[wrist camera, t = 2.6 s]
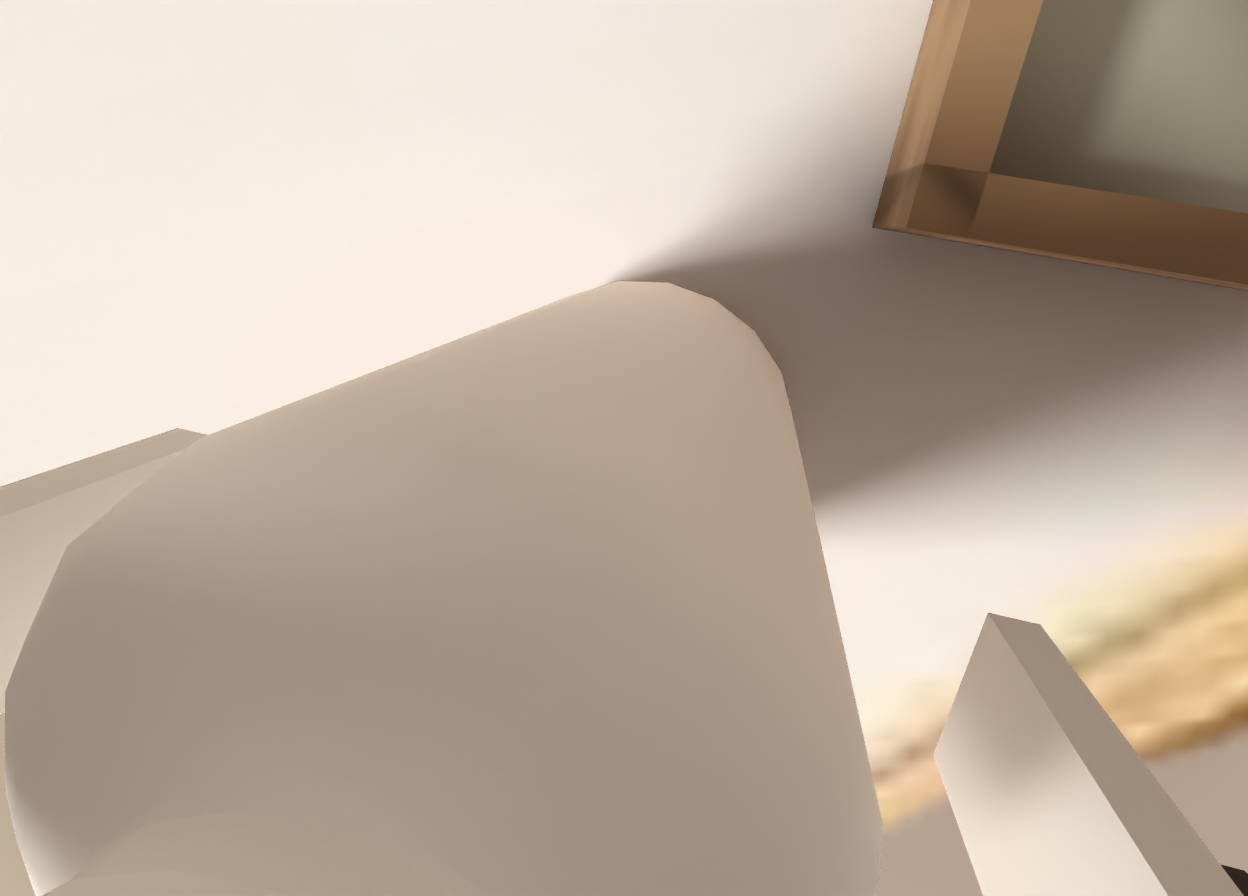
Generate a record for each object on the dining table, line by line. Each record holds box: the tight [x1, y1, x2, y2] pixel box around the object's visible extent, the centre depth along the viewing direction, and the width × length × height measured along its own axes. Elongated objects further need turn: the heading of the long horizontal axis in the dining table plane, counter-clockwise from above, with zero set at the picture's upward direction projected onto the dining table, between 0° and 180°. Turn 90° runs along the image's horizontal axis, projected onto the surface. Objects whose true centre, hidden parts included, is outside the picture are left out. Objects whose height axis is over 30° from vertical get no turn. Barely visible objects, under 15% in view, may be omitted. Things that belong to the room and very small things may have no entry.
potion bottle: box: [5, 281, 883, 896], centre depth 12 cm, size 8×8×18 cm
